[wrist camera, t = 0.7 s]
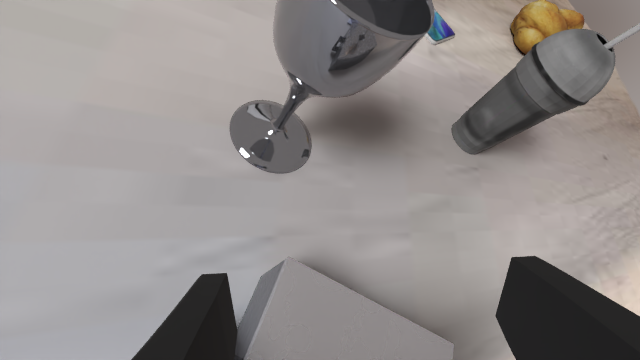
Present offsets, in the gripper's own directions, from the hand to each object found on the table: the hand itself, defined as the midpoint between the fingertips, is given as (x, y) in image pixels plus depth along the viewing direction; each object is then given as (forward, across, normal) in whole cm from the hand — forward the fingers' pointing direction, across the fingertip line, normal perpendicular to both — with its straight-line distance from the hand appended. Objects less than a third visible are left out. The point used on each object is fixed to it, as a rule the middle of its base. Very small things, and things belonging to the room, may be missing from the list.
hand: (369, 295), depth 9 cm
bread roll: (+60, -40, 0) cm, 72 cm away
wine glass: (+22, +4, +3) cm, 22 cm away
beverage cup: (+32, -18, +8) cm, 38 cm away
